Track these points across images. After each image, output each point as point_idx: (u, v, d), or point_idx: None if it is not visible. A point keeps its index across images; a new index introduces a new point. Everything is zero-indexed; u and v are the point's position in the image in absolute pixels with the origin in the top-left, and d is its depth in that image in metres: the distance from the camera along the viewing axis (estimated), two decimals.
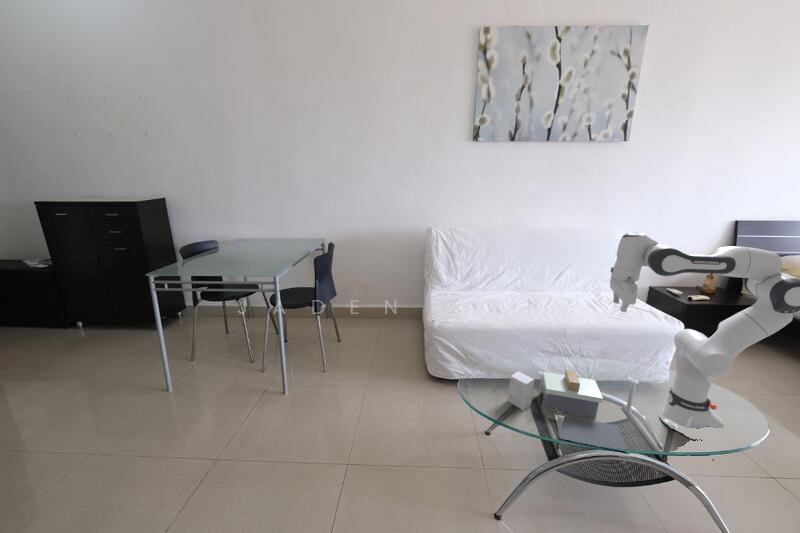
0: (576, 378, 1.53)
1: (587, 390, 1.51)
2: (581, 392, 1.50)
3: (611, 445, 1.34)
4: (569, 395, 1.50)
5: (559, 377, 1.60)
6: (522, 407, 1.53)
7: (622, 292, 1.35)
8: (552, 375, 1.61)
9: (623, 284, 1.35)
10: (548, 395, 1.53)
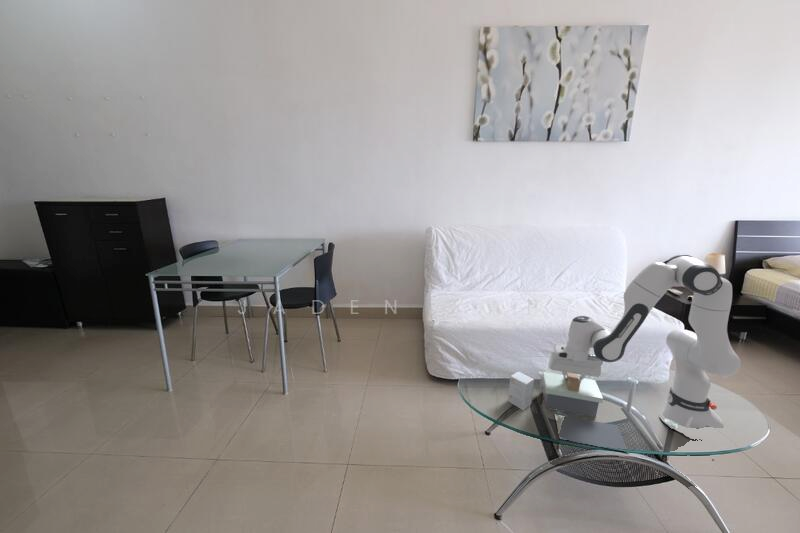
0: (576, 378, 1.53)
1: (587, 390, 1.51)
2: (581, 392, 1.50)
3: (611, 445, 1.34)
4: (569, 395, 1.50)
5: (559, 377, 1.60)
6: (522, 407, 1.53)
7: (589, 369, 1.50)
8: (552, 375, 1.61)
9: (589, 362, 1.49)
10: (548, 395, 1.53)
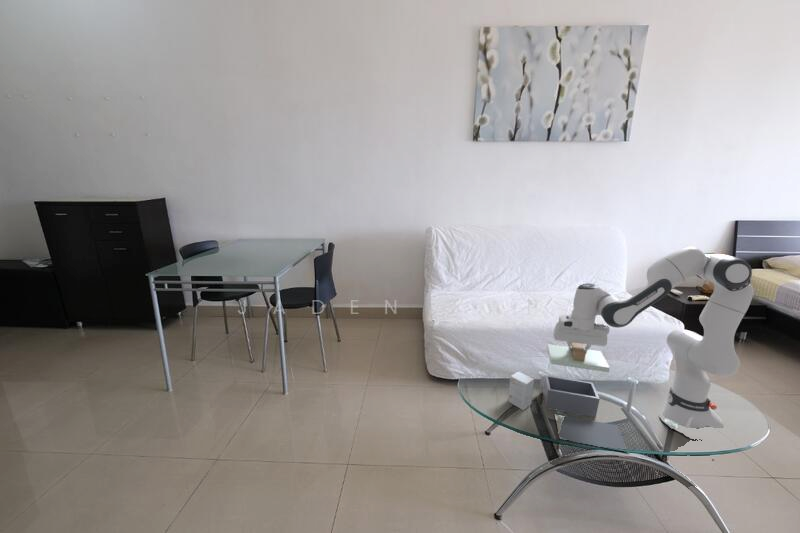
0: (582, 348, 1.49)
1: (593, 360, 1.47)
2: (587, 362, 1.46)
3: (611, 445, 1.34)
4: (574, 365, 1.46)
5: (564, 349, 1.56)
6: (522, 407, 1.53)
7: (595, 338, 1.46)
8: (557, 347, 1.57)
9: (595, 331, 1.45)
10: (548, 395, 1.53)
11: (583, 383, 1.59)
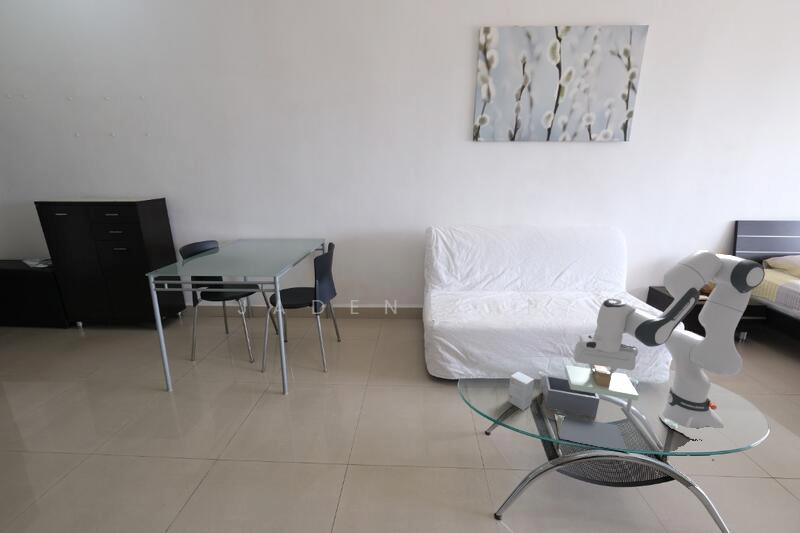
0: (606, 372, 1.32)
1: (618, 386, 1.30)
2: (612, 388, 1.29)
3: (611, 445, 1.34)
4: (598, 391, 1.29)
5: (584, 371, 1.39)
6: (522, 407, 1.53)
7: (621, 361, 1.29)
8: (576, 369, 1.40)
9: (622, 353, 1.28)
10: (548, 395, 1.53)
11: None
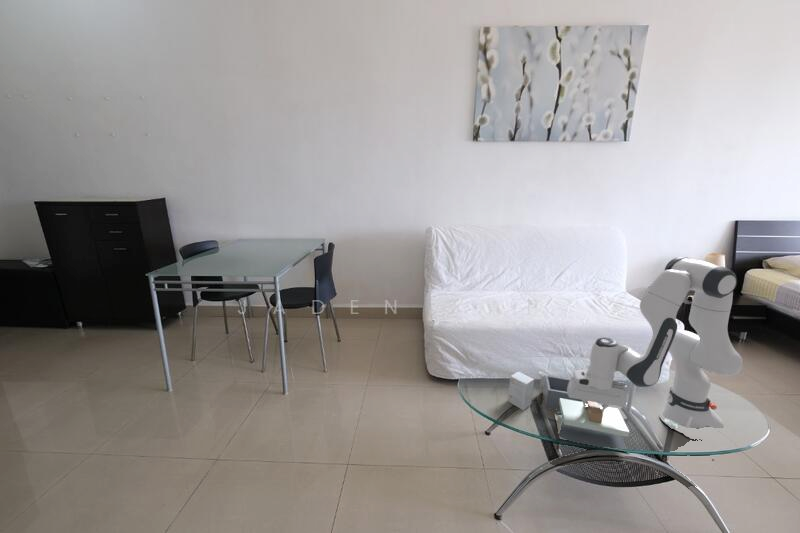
0: (598, 407, 1.36)
1: (610, 421, 1.34)
2: (604, 424, 1.33)
3: (611, 445, 1.34)
4: (590, 427, 1.33)
5: (578, 405, 1.43)
6: (522, 407, 1.53)
7: (613, 398, 1.33)
8: (570, 403, 1.45)
9: (613, 391, 1.32)
10: (548, 395, 1.53)
11: None
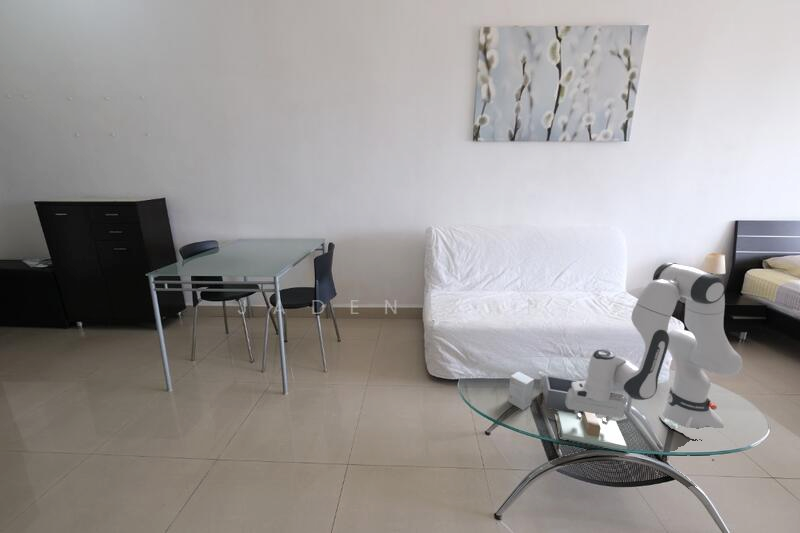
0: (596, 421, 1.38)
1: (608, 435, 1.36)
2: (602, 438, 1.35)
3: None
4: (588, 441, 1.35)
5: None
6: (522, 407, 1.53)
7: (611, 409, 1.34)
8: (568, 416, 1.46)
9: (611, 402, 1.34)
10: (548, 395, 1.53)
11: None
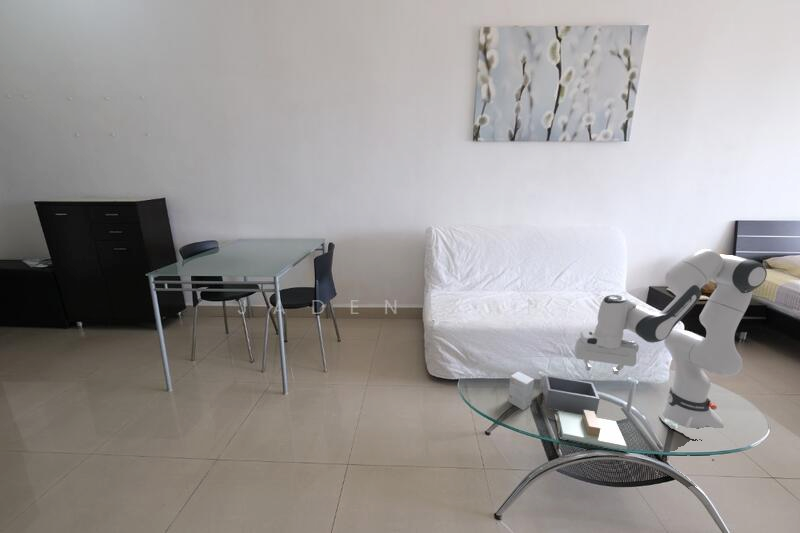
0: (596, 421, 1.38)
1: (608, 435, 1.36)
2: (602, 438, 1.35)
3: None
4: (588, 441, 1.35)
5: (576, 418, 1.45)
6: (522, 407, 1.53)
7: (622, 357, 1.29)
8: (568, 416, 1.46)
9: (622, 349, 1.28)
10: (548, 395, 1.53)
11: (583, 383, 1.59)
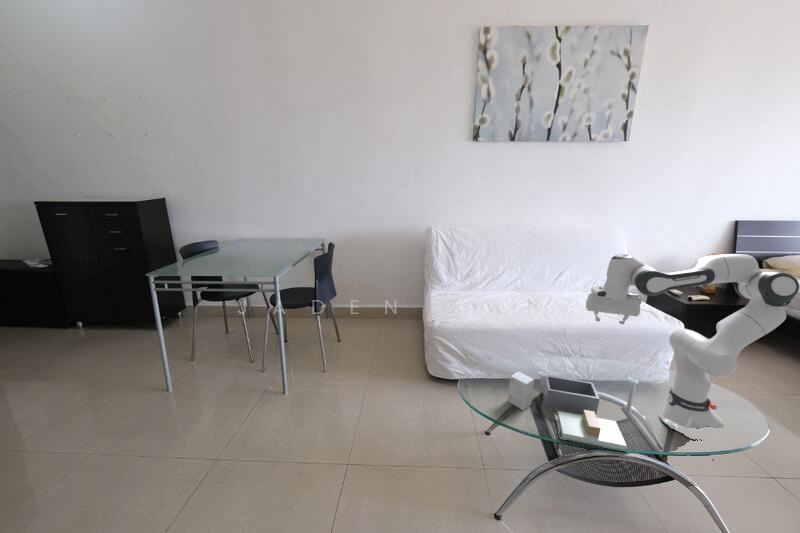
0: (596, 421, 1.38)
1: (608, 435, 1.36)
2: (602, 438, 1.35)
3: None
4: (588, 441, 1.35)
5: (576, 418, 1.45)
6: (522, 407, 1.53)
7: (628, 308, 1.49)
8: (568, 416, 1.46)
9: (628, 301, 1.48)
10: (548, 395, 1.53)
11: (583, 383, 1.59)
